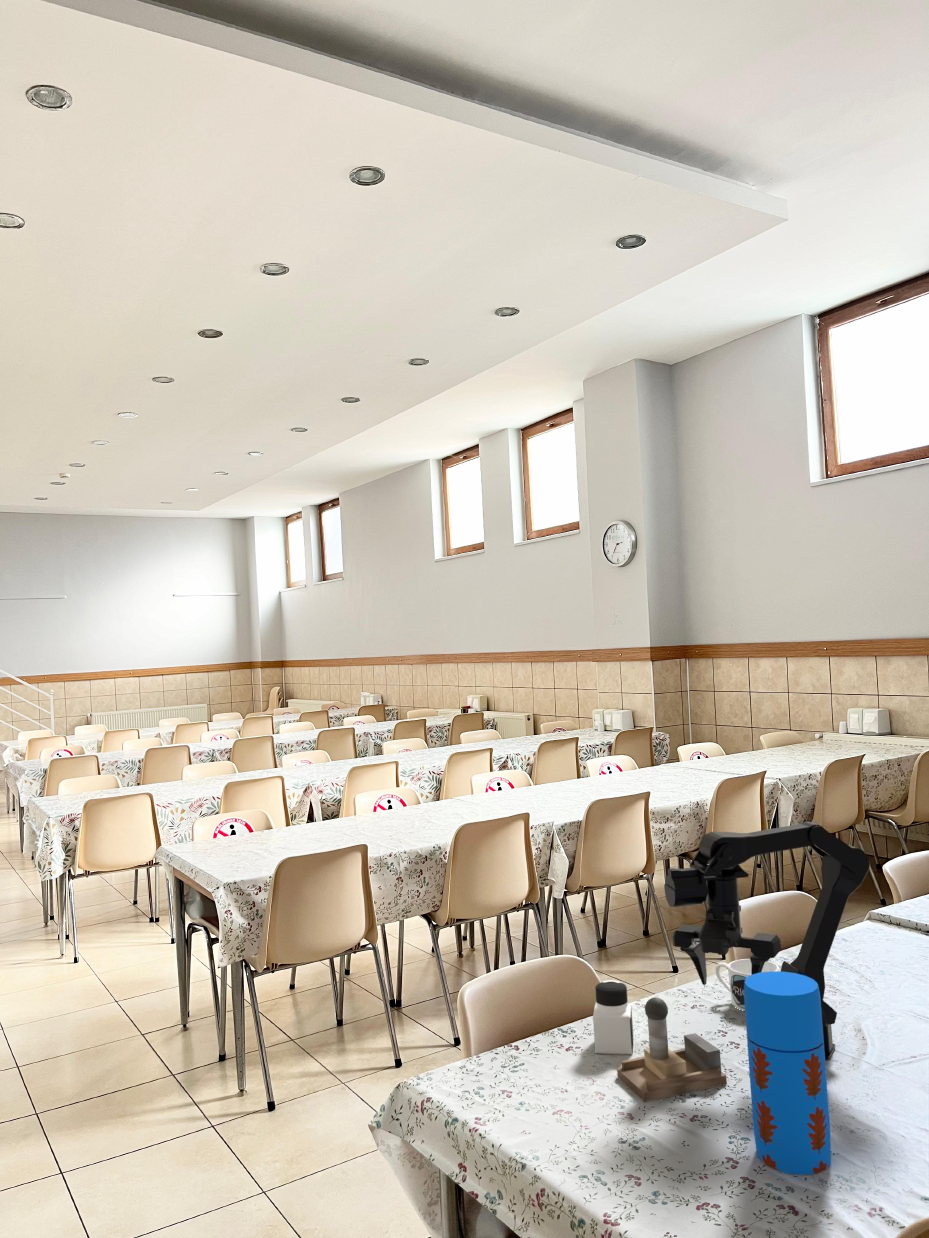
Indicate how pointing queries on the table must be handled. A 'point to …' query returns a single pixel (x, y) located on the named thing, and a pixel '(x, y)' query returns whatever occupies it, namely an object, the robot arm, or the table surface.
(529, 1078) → the table surface
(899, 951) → the table surface
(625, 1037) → the medicine bottle
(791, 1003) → the thermos
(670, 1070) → the press handle
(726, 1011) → the table surface
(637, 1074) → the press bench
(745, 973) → the mug
